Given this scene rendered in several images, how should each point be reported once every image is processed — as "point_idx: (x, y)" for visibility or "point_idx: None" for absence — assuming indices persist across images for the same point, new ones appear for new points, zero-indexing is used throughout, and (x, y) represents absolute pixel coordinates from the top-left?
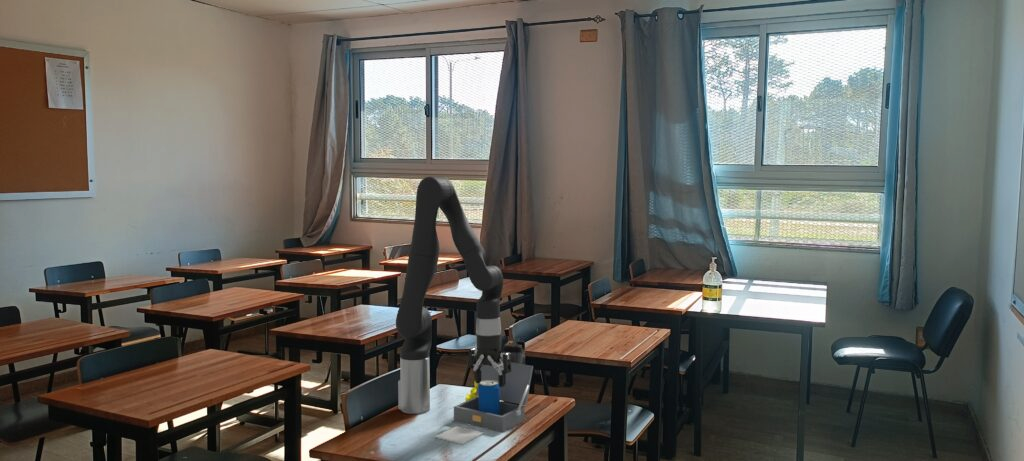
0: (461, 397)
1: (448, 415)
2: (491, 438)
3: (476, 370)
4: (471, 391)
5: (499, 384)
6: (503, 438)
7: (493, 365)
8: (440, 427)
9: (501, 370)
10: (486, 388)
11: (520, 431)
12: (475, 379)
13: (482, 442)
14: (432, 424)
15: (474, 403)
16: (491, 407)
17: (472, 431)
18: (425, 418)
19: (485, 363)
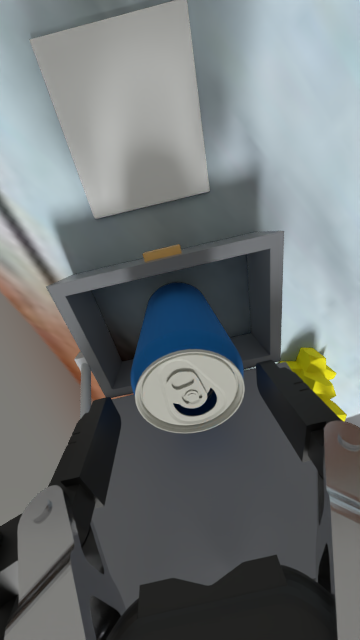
0: (347, 368)
1: (302, 257)
2: (43, 207)
3: (322, 435)
4: (326, 382)
5: (96, 408)
6: (23, 238)
7: (70, 633)
8: (254, 144)
9: (24, 554)
10: (156, 345)
11: (53, 315)
12: (281, 371)
13: (21, 146)
14: (299, 145)
15: (263, 334)
16: (145, 316)
17: (128, 195)
18: (356, 175)
19: (252, 607)
